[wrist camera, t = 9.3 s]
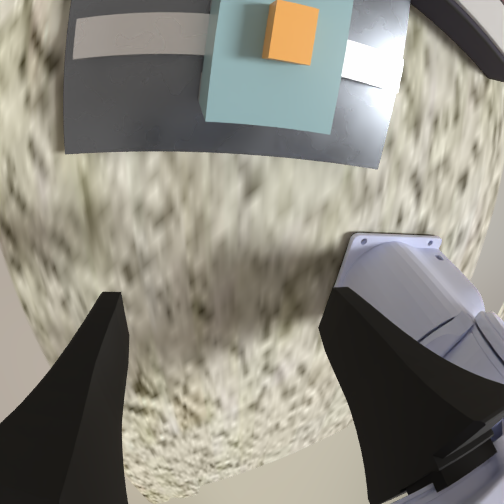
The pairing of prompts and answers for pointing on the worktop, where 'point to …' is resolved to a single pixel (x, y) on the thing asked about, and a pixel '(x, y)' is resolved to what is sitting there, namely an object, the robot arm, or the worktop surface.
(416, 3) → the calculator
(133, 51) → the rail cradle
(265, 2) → the block
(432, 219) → the worktop surface
